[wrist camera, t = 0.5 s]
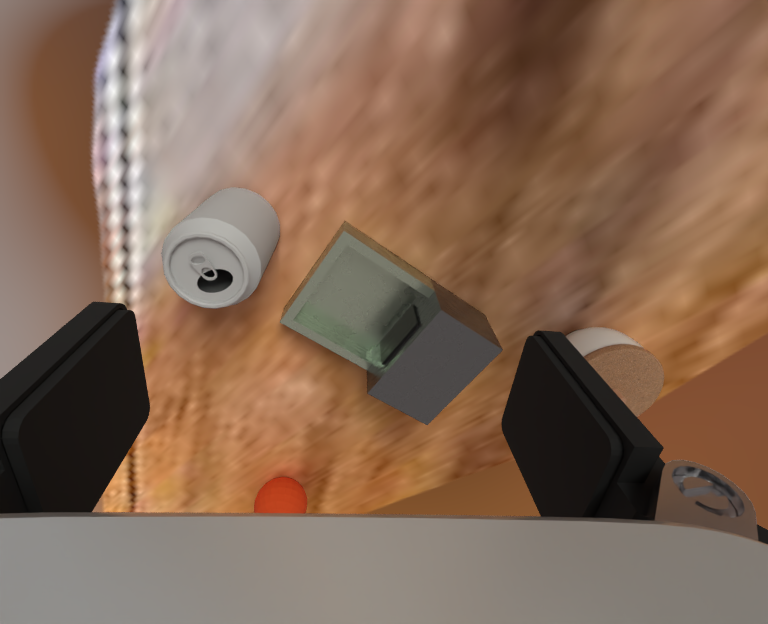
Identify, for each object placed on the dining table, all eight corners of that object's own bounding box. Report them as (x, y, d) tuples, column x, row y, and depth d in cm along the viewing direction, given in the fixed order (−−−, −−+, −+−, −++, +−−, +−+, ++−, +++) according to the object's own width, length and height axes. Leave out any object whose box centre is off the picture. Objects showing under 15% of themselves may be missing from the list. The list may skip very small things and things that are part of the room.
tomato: (283, 509, 64) (275, 556, 57) (244, 488, 61) (231, 535, 55) (319, 482, 61) (315, 528, 55) (281, 458, 58) (272, 504, 52)
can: (228, 269, 45) (189, 329, 34) (188, 201, 41) (130, 246, 31) (294, 244, 44) (274, 298, 33) (258, 173, 40) (223, 208, 30)
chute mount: (344, 220, 43) (342, 245, 37) (484, 315, 49) (502, 349, 43) (284, 308, 47) (272, 343, 41) (419, 384, 53) (427, 425, 47)
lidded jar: (632, 364, 54) (681, 417, 45) (549, 396, 55) (582, 453, 47) (615, 296, 49) (667, 342, 41) (524, 334, 51) (556, 385, 42)
